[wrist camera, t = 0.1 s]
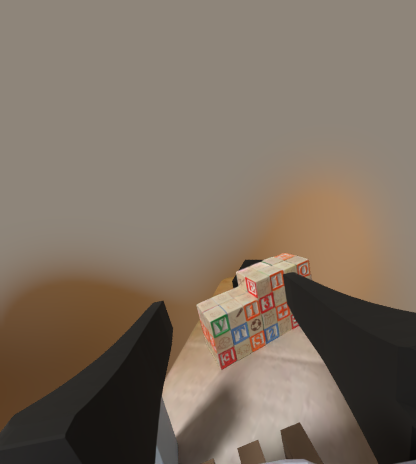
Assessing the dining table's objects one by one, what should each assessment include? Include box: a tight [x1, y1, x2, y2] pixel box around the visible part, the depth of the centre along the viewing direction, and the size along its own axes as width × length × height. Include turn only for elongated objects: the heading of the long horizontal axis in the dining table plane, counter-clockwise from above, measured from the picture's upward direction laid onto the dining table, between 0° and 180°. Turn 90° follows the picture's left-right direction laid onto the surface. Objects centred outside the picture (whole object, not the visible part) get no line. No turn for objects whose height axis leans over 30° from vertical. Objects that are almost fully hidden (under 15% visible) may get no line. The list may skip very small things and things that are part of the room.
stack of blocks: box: [197, 253, 312, 370], centre depth 37 cm, size 21×6×12 cm, turn 113°
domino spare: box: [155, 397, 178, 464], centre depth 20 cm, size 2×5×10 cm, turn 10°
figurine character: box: [232, 260, 263, 289], centre depth 49 cm, size 7×8×15 cm
